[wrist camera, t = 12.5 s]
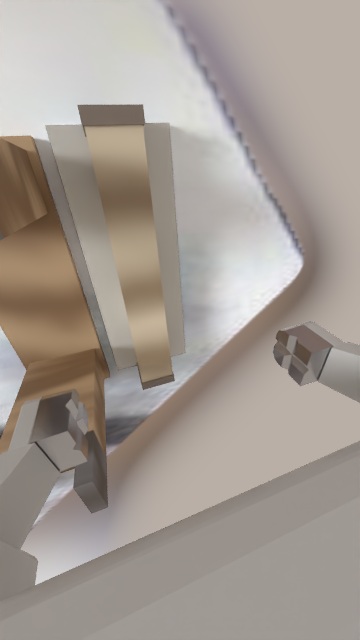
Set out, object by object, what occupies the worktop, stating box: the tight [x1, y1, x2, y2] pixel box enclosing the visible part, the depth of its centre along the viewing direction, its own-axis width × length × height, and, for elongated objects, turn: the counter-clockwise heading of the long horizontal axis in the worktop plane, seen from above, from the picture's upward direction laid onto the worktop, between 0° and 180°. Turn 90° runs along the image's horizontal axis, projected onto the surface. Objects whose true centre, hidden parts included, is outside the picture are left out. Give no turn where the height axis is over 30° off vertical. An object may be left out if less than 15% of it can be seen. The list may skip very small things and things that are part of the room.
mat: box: [45, 123, 185, 370], centre depth 21 cm, size 21×8×1 cm, turn 4°
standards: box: [0, 136, 110, 513], centre depth 14 cm, size 21×7×13 cm, turn 4°
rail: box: [78, 105, 175, 390], centre depth 19 cm, size 22×3×3 cm, turn 4°
